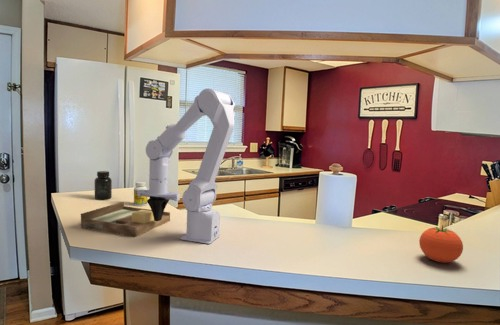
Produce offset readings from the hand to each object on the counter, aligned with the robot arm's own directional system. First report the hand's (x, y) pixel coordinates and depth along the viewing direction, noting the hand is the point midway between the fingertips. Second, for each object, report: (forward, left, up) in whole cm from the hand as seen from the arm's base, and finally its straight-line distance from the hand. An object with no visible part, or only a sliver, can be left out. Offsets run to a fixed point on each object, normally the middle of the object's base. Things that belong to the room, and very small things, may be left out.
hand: (157, 220), depth 104 cm
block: (+6, 0, -1) cm, 6 cm away
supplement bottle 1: (+45, -26, -3) cm, 52 cm away
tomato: (-83, -9, -3) cm, 83 cm away
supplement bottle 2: (+24, -24, -3) cm, 34 cm away
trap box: (+12, 0, -3) cm, 12 cm away
